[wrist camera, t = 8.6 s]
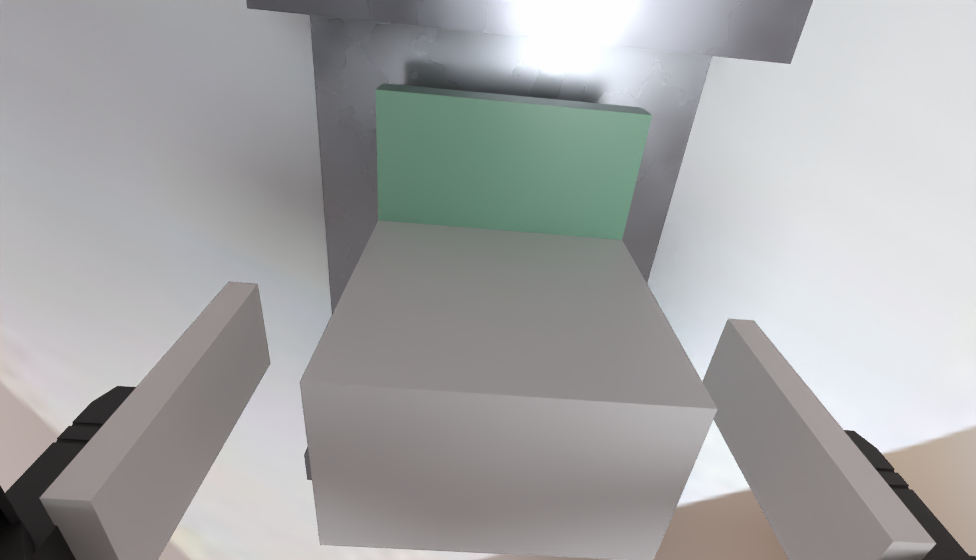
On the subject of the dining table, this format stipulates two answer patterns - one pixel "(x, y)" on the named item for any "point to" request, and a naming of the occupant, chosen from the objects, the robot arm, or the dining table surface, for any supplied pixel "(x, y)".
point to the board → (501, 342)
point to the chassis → (523, 81)
